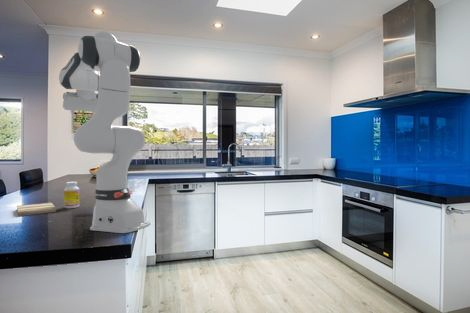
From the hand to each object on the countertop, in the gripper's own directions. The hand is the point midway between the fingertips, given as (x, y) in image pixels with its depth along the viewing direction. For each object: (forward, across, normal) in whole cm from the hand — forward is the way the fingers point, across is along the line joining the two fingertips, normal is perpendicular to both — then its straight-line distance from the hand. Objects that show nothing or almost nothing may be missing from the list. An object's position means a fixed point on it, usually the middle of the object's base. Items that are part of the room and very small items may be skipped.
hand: (84, 118), depth 151 cm
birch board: (+40, -24, -22) cm, 52 cm away
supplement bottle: (+40, -10, -24) cm, 48 cm away
